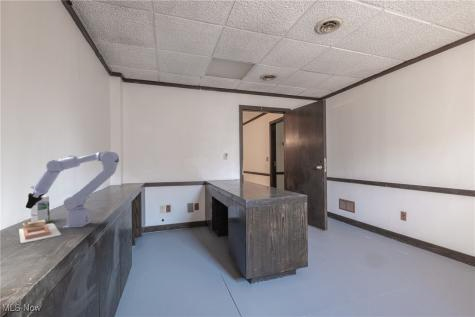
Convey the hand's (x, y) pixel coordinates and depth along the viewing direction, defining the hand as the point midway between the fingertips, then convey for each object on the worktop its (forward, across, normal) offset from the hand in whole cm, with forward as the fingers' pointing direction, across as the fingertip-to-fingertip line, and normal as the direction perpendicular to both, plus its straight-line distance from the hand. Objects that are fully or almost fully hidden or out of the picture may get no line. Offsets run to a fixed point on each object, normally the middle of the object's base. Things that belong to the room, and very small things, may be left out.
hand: (30, 205), depth 107 cm
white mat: (+6, +12, +9) cm, 16 cm away
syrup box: (+12, -8, +8) cm, 16 cm away
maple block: (+9, +4, +7) cm, 12 cm away
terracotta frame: (+6, +15, +9) cm, 18 cm away
